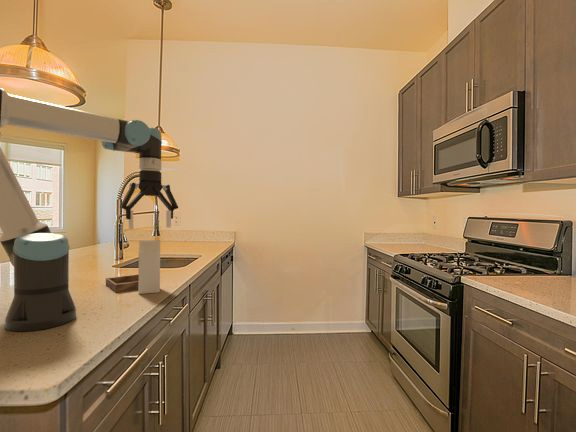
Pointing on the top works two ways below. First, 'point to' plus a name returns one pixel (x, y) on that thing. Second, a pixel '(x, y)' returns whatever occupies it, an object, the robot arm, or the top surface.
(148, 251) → the milk carton
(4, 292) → the top surface
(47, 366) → the top surface
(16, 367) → the top surface
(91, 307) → the top surface
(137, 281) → the tray
